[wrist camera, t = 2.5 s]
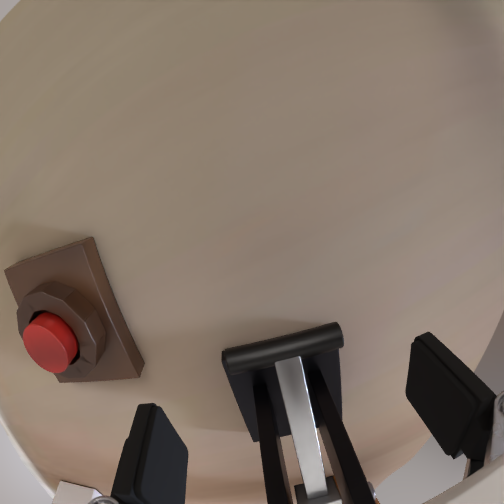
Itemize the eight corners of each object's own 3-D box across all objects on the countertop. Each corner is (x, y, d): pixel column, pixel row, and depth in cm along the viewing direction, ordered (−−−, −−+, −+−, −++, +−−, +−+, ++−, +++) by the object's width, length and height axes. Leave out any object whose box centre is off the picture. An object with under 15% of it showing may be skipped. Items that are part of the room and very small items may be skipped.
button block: (16, 263, 17) (-11, 279, 13) (93, 236, 17) (67, 252, 13) (67, 371, 20) (51, 396, 16) (144, 363, 20) (133, 394, 16)
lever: (227, 344, 13) (221, 355, 11) (330, 319, 13) (344, 324, 11) (278, 518, 12) (280, 542, 9) (359, 497, 12) (370, 519, 9)
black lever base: (221, 351, 20) (222, 523, 7) (332, 324, 20) (418, 471, 7) (252, 432, 23) (267, 557, 10) (338, 411, 23) (385, 527, 10)
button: (27, 315, 15) (14, 327, 13) (63, 307, 15) (50, 321, 13) (50, 359, 16) (40, 374, 14) (87, 356, 16) (77, 372, 14)
